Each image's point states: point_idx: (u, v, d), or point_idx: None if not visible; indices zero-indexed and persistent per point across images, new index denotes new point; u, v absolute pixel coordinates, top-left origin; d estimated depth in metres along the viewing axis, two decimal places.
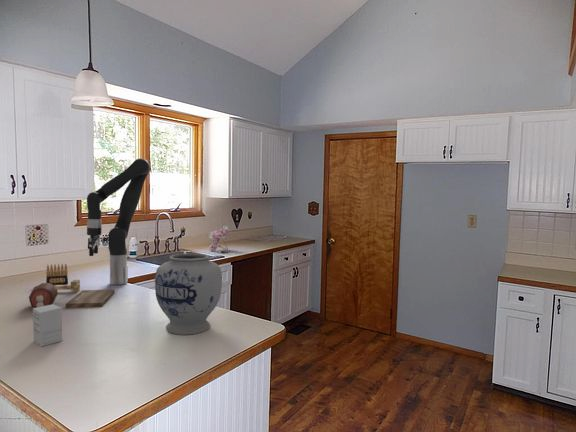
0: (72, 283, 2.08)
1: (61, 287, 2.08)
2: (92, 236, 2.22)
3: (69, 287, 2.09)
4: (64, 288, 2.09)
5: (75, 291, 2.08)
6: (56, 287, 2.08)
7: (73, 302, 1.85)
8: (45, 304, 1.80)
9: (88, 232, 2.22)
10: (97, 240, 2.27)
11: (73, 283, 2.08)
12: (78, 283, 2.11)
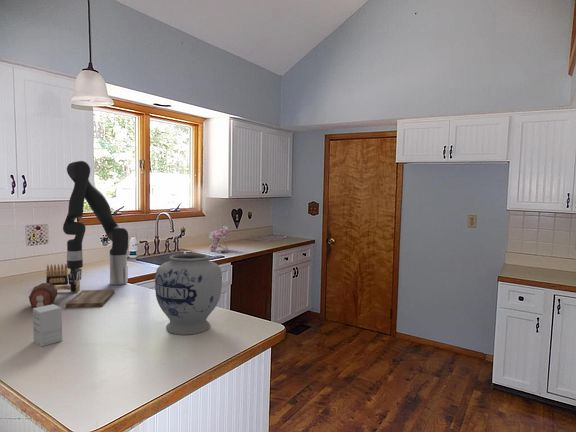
0: None
1: (61, 287, 2.08)
2: (72, 269, 2.06)
3: (69, 287, 2.09)
4: (64, 288, 2.09)
5: (75, 291, 2.08)
6: (56, 287, 2.08)
7: (73, 302, 1.85)
8: (45, 304, 1.80)
9: (68, 265, 2.06)
10: (78, 273, 2.11)
11: None
12: (78, 283, 2.11)
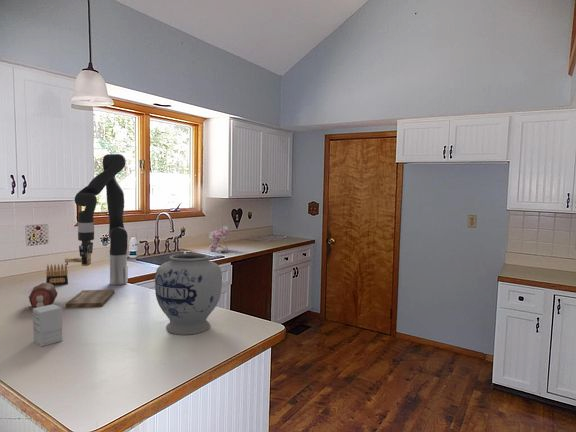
0: None
1: (72, 260, 2.04)
2: (84, 241, 2.02)
3: (80, 260, 2.05)
4: (75, 261, 2.04)
5: (86, 264, 2.04)
6: (67, 260, 2.04)
7: (73, 302, 1.85)
8: (45, 304, 1.80)
9: (79, 237, 2.02)
10: (90, 245, 2.07)
11: None
12: (89, 256, 2.06)
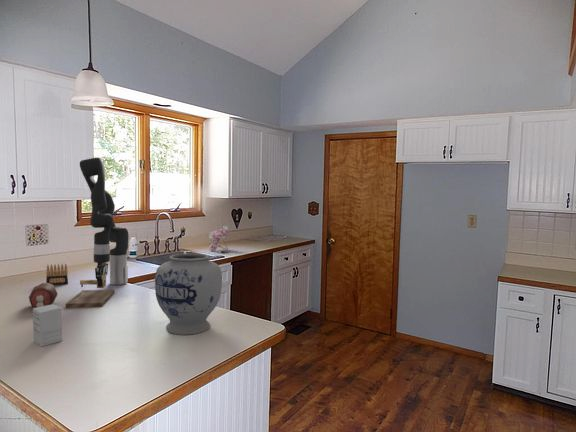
0: None
1: (87, 282, 2.00)
2: (99, 263, 1.98)
3: (95, 282, 2.01)
4: (90, 283, 2.01)
5: None
6: (82, 282, 2.00)
7: (73, 302, 1.85)
8: (45, 304, 1.80)
9: (95, 259, 1.98)
10: (105, 267, 2.03)
11: None
12: (104, 278, 2.03)
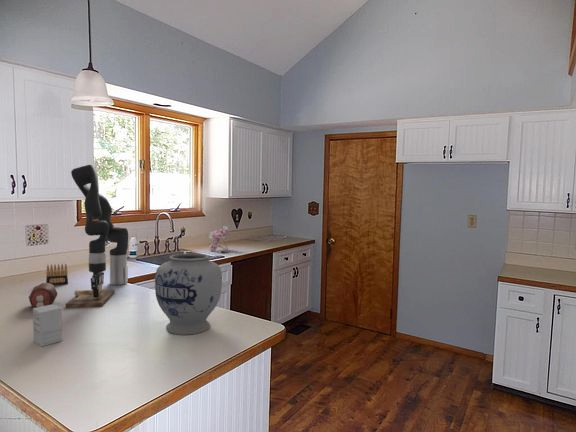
0: None
1: (82, 292, 1.91)
2: (95, 273, 1.88)
3: (91, 292, 1.91)
4: (85, 293, 1.91)
5: (97, 297, 1.91)
6: (77, 293, 1.90)
7: (73, 302, 1.85)
8: (45, 304, 1.80)
9: (90, 268, 1.89)
10: (101, 277, 1.93)
11: None
12: (100, 288, 1.93)
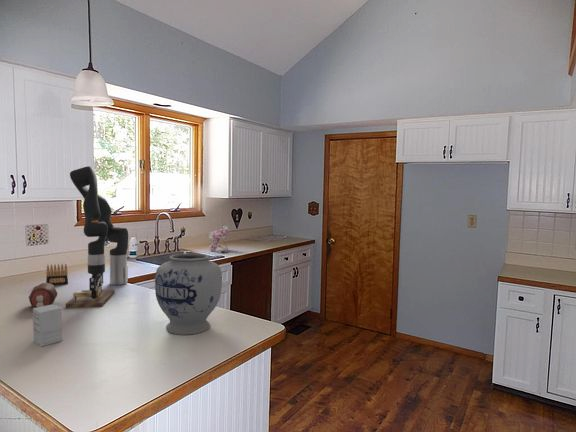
0: None
1: (81, 294, 1.89)
2: (94, 275, 1.87)
3: (90, 294, 1.90)
4: (84, 295, 1.89)
5: (96, 299, 1.89)
6: (76, 295, 1.88)
7: (73, 302, 1.85)
8: (45, 304, 1.80)
9: (89, 270, 1.87)
10: (100, 278, 1.92)
11: None
12: (99, 290, 1.91)
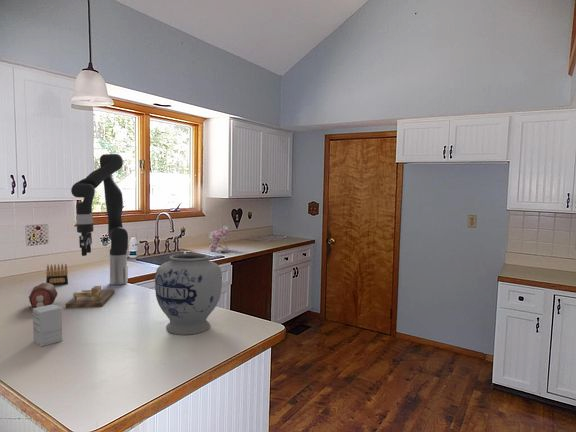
0: (93, 290, 1.88)
1: (81, 294, 1.89)
2: (83, 233, 1.97)
3: (90, 294, 1.90)
4: (84, 295, 1.89)
5: (96, 299, 1.89)
6: (76, 295, 1.88)
7: (73, 302, 1.85)
8: (45, 304, 1.80)
9: (78, 229, 1.97)
10: (89, 238, 2.02)
11: (94, 290, 1.88)
12: (99, 290, 1.91)
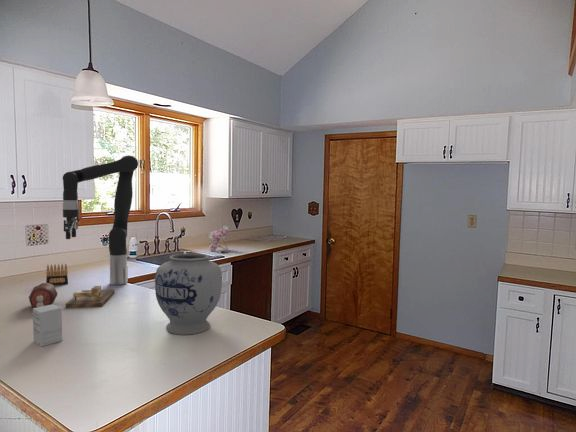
0: (93, 290, 1.88)
1: (81, 294, 1.89)
2: (68, 218, 2.10)
3: (90, 294, 1.90)
4: (84, 295, 1.89)
5: (96, 299, 1.89)
6: (76, 295, 1.88)
7: (73, 302, 1.85)
8: (45, 304, 1.80)
9: (64, 214, 2.11)
10: (74, 223, 2.16)
11: (94, 290, 1.88)
12: (99, 290, 1.91)
